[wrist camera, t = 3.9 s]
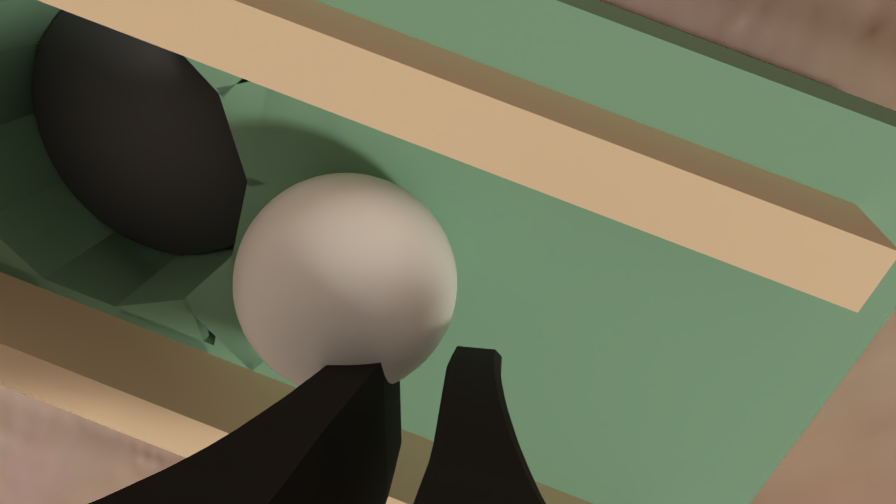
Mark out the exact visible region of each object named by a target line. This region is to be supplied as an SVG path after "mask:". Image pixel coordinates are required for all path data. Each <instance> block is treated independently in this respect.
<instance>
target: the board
mask: <svg viewBox="0 0 896 504" xmlns="http://www.w3.org/2000/svg"><path fill="white" fill-rule="evenodd" d="M42 38H43V39H42ZM41 39H42V41H41ZM40 41H41V44H40V46H39V49H38V43H39V42H40ZM332 173H358V174H367V175H370V176H374V177H378V178H381V179H384V180H387V181H389V182H391V183H393V184H395V185H397V186H399V187H401V188H403V189H405V190H406V191H408V192H409V193H411V194H412V195H414V196H415V197H416V198H417V199H418V200H420V201H421V202H422V203H423V204H424V205H425V206H426V207H427V208H428V209H429V210H430V211H431V213H432V214H433V215H434V217H435V218H436V219H437V221H438V222H439V223H440V225H441V227H442V228H443V230H444V232H445V234H446V236H447V238H448V241H449V243H450V246H451V249H452V252H453V256H454V260H455V264H456V271H457V295H456V302H455V307H454V312H453V315H452V318H451V321H450V324H449V326H448V328H447V330H446V333H445V335H444V336H443V338H442V340H441V341H440V343H439V345H438V346H437V347H436V349H435V350H434V351H433V353H432V354H431V355H430V356H429V358H428V359H427V360H426V361H425V362H424V363H423V364H422V365H421V366H420V367H419V368H417V369H416V370H414V371H413V372H412V373H410V374H409V375H408V376H406V377H405V378H404V379H402V380H400V400H401V437H402V443H401V447H400V452H399V456H398V460H397V464H396V468H395V472H394V476H393V480H392V484H391V488H390V492H389V496H388V499H387V502H386V504H413V503H414V500H415V498H416V495H417V492H418V489H419V487H420V484H421V481H422V479H423V476H424V473H425V471H426V468H427V465H428V462H429V459H430V455H431V451H432V447H433V443H434V437H435V431H436V426H437V420H438V414H439V408H440V402H441V396H442V391H443V385H444V379H445V374H446V368H447V365H448V363H449V361H450V358H451V356H452V354H453V353H454V351H455V349H456V347H457V346H463V347H474V348H485V349H495V350H496V351H497V352H498V353H499V354H500V355H501V356H502V365H501V380H502V386H503V391H504V396H505V400H506V404H507V408H508V412H509V415H510V418H511V421H512V424H513V428H514V431H515V434H516V437H517V439H518V442H519V445H520V448H521V450H522V453H523V455H524V458H525V460H526V462H527V465H528V467H529V470H530V472H531V474H532V476H533V478H534V481H535V483H536V485H537V487H538V489H539V491H540V493H541V495H542V497H543V499H544V501H545V503H546V504H750V502H751V501H752V500H753V498H754V497H755V496H756V494H757V493H758V492H759V490H760V489H761V488H762V486H763V485H764V484H765V482H766V481H767V479H768V478H769V477H770V475H771V474H772V473H773V471H774V470H775V469H776V467H777V466H778V465H779V463H780V462H781V461H782V459H783V458H784V457H785V455H786V454H787V453H788V451H789V450H790V449H791V447H792V446H793V445H794V443H795V442H796V441H797V439H798V438H799V437H800V435H801V434H802V433H803V431H804V430H805V429H806V427H807V426H808V425H809V423H810V422H811V421H812V419H813V418H814V417H815V415H816V414H817V413H818V411H819V410H820V409H821V407H822V406H823V405H824V403H825V402H826V401H827V399H828V398H829V397H830V395H831V394H832V393H833V391H834V390H835V389H836V387H837V386H838V385H839V383H840V382H841V381H842V379H843V378H844V377H845V375H846V374H847V373H848V371H849V370H850V369H851V367H852V366H853V365H854V363H855V362H856V361H857V359H858V358H859V357H860V355H861V354H862V353H863V351H864V350H865V348H866V347H867V346H868V344H869V343H870V342H871V340H872V339H873V338H874V336H875V335H876V334H877V332H878V331H879V330H880V328H881V327H882V326H883V324H884V323H885V322H886V320H887V319H888V318H889V316H890V315H891V314H892V312H893V311H894V310H895V308H896V111H894V110H891V109H889V108H886V107H883V106H881V105H878V104H875V103H873V102H870V101H867V100H864V99H862V98H859V97H856V96H854V95H851V94H848V93H846V92H843V91H840V90H838V89H835V88H832V87H830V86H827V85H824V84H822V83H819V82H816V81H814V80H811V79H808V78H806V77H803V76H800V75H798V74H795V73H792V72H790V71H787V70H784V69H781V68H779V67H776V66H773V65H771V64H768V63H765V62H763V61H760V60H757V59H755V58H752V57H749V56H747V55H744V54H741V53H739V52H736V51H733V50H731V49H728V48H725V47H723V46H720V45H717V44H715V43H712V42H709V41H707V40H704V39H701V38H698V37H696V36H693V35H690V34H688V33H685V32H682V31H680V30H677V29H674V28H672V27H669V26H666V25H664V24H661V23H658V22H656V21H653V20H650V19H648V18H645V17H642V16H640V15H637V14H634V13H632V12H629V11H626V10H624V9H621V8H618V7H615V6H613V5H610V4H607V3H605V2H602V1H599V0H0V385H3V386H5V387H8V388H10V389H13V390H15V391H18V392H20V393H23V394H25V395H28V396H31V397H33V398H36V399H38V400H41V401H43V402H46V403H48V404H51V405H53V406H56V407H58V408H61V409H63V410H66V411H69V412H71V413H74V414H76V415H79V416H81V417H84V418H86V419H89V420H91V421H94V422H96V423H99V424H101V425H104V426H106V427H109V428H112V429H114V430H117V431H119V432H122V433H124V434H127V435H129V436H132V437H134V438H137V439H139V440H142V441H144V442H147V443H150V444H152V445H155V446H157V447H160V448H162V449H165V450H167V451H170V452H172V453H175V454H177V455H180V456H182V457H185V458H187V457H189V456H191V455H193V454H195V453H197V452H198V451H200V450H202V449H204V448H206V447H208V446H209V445H211V444H213V443H214V442H216V441H218V440H220V439H221V438H223V437H225V436H226V435H228V434H229V433H231V432H233V431H234V430H236V429H238V428H239V427H241V426H242V425H243V424H245V423H246V422H248V421H249V420H251V419H252V418H254V417H255V416H257V415H258V414H260V413H261V412H263V411H264V410H266V409H267V408H269V407H270V406H272V405H273V404H275V403H276V402H278V401H279V400H281V399H282V398H284V397H285V396H286V395H288V394H289V393H290V392H292V391H293V390H294V389H296V388H297V387H298V385H296V384H295V383H293V382H291V381H289V380H287V379H285V378H283V377H282V376H281V375H279V374H278V373H277V372H275V371H274V370H273V369H272V368H270V367H269V366H268V365H267V364H266V363H265V362H264V361H263V360H262V359H261V358H260V357H259V356H258V354H257V353H256V352H255V350H254V349H253V348H252V346H251V345H250V343H249V342H248V340H247V338H246V336H245V335H244V333H243V330H242V328H241V325H240V323H239V320H238V317H237V314H236V310H235V306H234V300H233V271H234V264H235V260H236V255H237V252H238V249H239V246H240V243H241V241H242V239H243V236H244V234H245V233H246V231H247V229H248V227H249V226H250V224H251V223H252V221H253V220H254V218H255V217H256V216H257V215H258V214H259V212H260V211H261V210H262V209H263V208H264V207H265V206H266V205H267V204H268V203H269V202H270V201H271V200H272V199H273V198H275V197H276V196H277V195H279V194H280V193H282V192H283V191H285V190H286V189H288V188H290V187H291V186H293V185H295V184H297V183H299V182H302V181H305V180H307V179H310V178H313V177H316V176H321V175H325V174H332ZM234 244H235V245H234ZM232 245H234V249H228V250H221V249H224V248H227V247H230V246H232ZM218 250H219V251H218ZM173 253H178V254H187V255H176V254H173Z"/></svg>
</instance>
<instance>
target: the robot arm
mask: <svg viewBox="0 0 896 504" xmlns="http://www.w3.org/2000/svg"><path fill="white" fill-rule="evenodd" d="M501 365H502V356H501V355H500V354H499V353H498V352H497V351H496V350H495V349H485V348H474V347H463V346H457V347H456V349H455V351H454V353H453V354H452V356H451V358H450V361H449V363H448V365H447V368H446V374H445V379H444V385H443V391H442V396H441V402H440V408H439V414H438V420H437V426H436V431H435V437H434V443H433V447H432V451H431V455H430V459H429V462H428V465H427V468H426V471H425V473H424V476H423V479H422V481H421V484H420V487H419V489H418V492H417V495H416V498H415V500H414V503H413V504H546V503H545V501H544V499H543V497H542V495H541V493H540V491H539V489H538V487H537V485H536V483H535V481H534V478H533V476H532V474H531V472H530V470H529V467H528V465H527V462H526V460H525V458H524V455H523V453H522V450H521V448H520V445H519V442H518V439H517V437H516V434H515V431H514V428H513V424H512V421H511V418H510V415H509V412H508V408H507V404H506V400H505V396H504V391H503V386H502V380H501ZM401 443H402V437H401V400H400V381H398V382H396V383H393V384H391V383H389V382H388V381H387V379H386V377H385V375H384V371H383V368H382V365H381V362H380V363H373V364H362V365H326V366H325V367H323V368H322V369H321V370H320V371H318V372H317V373H316V374H314V375H313V376H312V377H310V378H309V379H308V380H306V381H305V382H304V383H302V384H301V385H300V386H298V387H297V388H296V389H294V390H293V391H292V392H290V393H289V394H288V395H286V396H285V397H284V398H282V399H281V400H279V401H278V402H276V403H275V404H273V405H272V406H270V407H269V408H267V409H266V410H264V411H263V412H261V413H260V414H258V415H257V416H255V417H254V418H252V419H251V420H249V421H248V422H246V423H245V424H243V425H242V426H241V427H239V428H238V429H236V430H234V431H233V432H231V433H229V434H228V435H226V436H225V437H223V438H221V439H220V440H218V441H216V442H214V443H213V444H211V445H209V446H208V447H206V448H204V449H202V450H200V451H198V452H197V453H195V454H193V455H191V456H189V457H187V458H186V459H184V460H182V461H180V462H178V463H176V464H174V465H172V466H170V467H168V468H166V469H164V470H162V471H160V472H158V473H156V474H154V475H151V476H149V477H147V478H145V479H143V480H141V481H138V482H136V483H134V484H132V485H130V486H127V487H125V488H123V489H121V490H119V491H117V492H114V493H112V494H110V495H108V496H106V497H103V498H101V499H99V500H96V501H94V502H91V503H89V504H386V502H387V499H388V496H389V492H390V488H391V484H392V480H393V476H394V472H395V468H396V464H397V460H398V456H399V452H400V447H401Z"/></svg>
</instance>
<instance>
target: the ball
mask: <svg viewBox="0 0 896 504" xmlns="http://www.w3.org/2000/svg"><path fill="white" fill-rule="evenodd" d="M456 295H457V271H456V264H455V260H454V256H453V252H452V249H451V246H450V243H449V241H448V238H447V236H446V234H445V232H444V230H443V228H442V227H441V225H440V223H439V222H438V221H437V219H436V218H435V217H434V215H433V214H432V213H431V211H430V210H429V209H428V208H427V207H426V206H425V205H424V204H423V203H422V202H421V201H420V200H418V199H417V198H416V197H415V196H414V195H412V194H411V193H409V192H408V191H406V190H405V189H403V188H401V187H399V186H397V185H395V184H393V183H391V182H389V181H387V180H384V179H381V178H378V177H374V176H370V175H367V174H358V173H332V174H325V175H321V176H316V177H313V178H310V179H307V180H305V181H302V182H299V183H297V184H295V185H293V186H291V187H290V188H288V189H286V190H285V191H283V192H282V193H280V194H279V195H277V196H276V197H275V198H273V199H272V200H271V201H270V202H269V203H268V204H267V205H266V206H265V207H264V208H263V209H262V210H261V211H260V212H259V214H258V215H257V216H256V217H255V218H254V220H253V221H252V223H251V224H250V226H249V227H248V229H247V231H246V233H245V234H244V236H243V239H242V241H241V243H240V246H239V249H238V252H237V255H236V260H235V264H234V271H233V300H234V306H235V310H236V314H237V317H238V320H239V323H240V325H241V328H242V330H243V333H244V335H245V336H246V338H247V340H248V342H249V343H250V345H251V346H252V348H253V349H254V350H255V352H256V353H257V354H258V356H259V357H260V358H261V359H262V360H263V361H264V362H265V363H266V364H267V365H268V366H269V367H270V368H272V369H273V370H274V371H275V372H277V373H278V374H279V375H281V376H282V377H283V378H285V379H287V380H289V381H291V382H293V383H295V384H296V385H298V386H300V385H301V384H302V383H304V382H305V381H306V380H308V379H309V378H310V377H312V376H313V375H314V374H316V373H317V372H318V371H320V370H321V369H322V368H323V367H325V366H326V365H362V364H373V363H380V362H381V365H382V368H383V371H384V375H385V377H386V379H387V381H388V382H389V383H391V384H393V383H396V382H398V381H400V380H402V379H404V378H405V377H406V376H408V375H409V374H410V373H412V372H413V371H414V370H416V369H417V368H419V367H420V366H421V365H422V364H423V363H424V362H425V361H426V360H427V359H428V358H429V356H430V355H431V354H432V353H433V351H434V350H435V349H436V347H437V346H438V345H439V343H440V341H441V340H442V338H443V336H444V335H445V333H446V330H447V328H448V326H449V324H450V321H451V318H452V315H453V312H454V307H455V302H456Z"/></svg>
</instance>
